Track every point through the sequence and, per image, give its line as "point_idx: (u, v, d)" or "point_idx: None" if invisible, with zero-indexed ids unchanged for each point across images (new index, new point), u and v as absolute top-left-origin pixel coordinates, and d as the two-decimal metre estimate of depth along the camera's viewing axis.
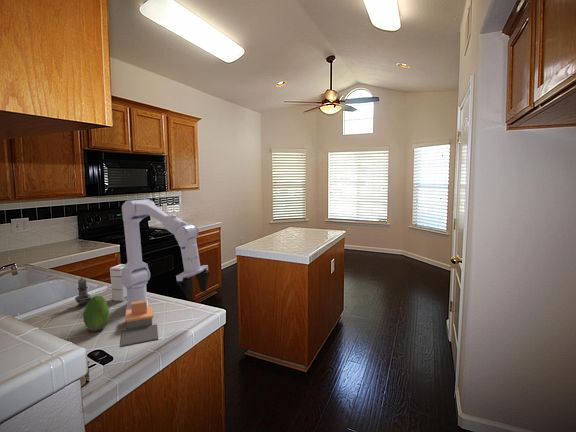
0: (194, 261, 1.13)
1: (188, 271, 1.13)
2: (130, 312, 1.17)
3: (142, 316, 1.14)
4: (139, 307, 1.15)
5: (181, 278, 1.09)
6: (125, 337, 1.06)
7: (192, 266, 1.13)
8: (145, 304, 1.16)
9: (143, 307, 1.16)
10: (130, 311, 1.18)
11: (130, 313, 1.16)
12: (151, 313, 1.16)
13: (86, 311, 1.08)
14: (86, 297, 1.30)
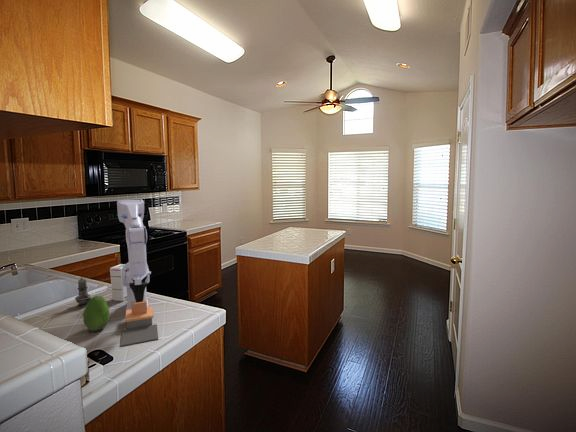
0: (145, 264, 1.14)
1: (140, 274, 1.12)
2: (130, 312, 1.17)
3: (142, 316, 1.14)
4: (139, 307, 1.15)
5: (141, 281, 1.09)
6: (125, 337, 1.06)
7: (144, 269, 1.13)
8: (145, 304, 1.16)
9: (143, 307, 1.16)
10: (130, 311, 1.18)
11: (130, 313, 1.16)
12: (151, 313, 1.16)
13: (86, 311, 1.08)
14: (86, 297, 1.30)
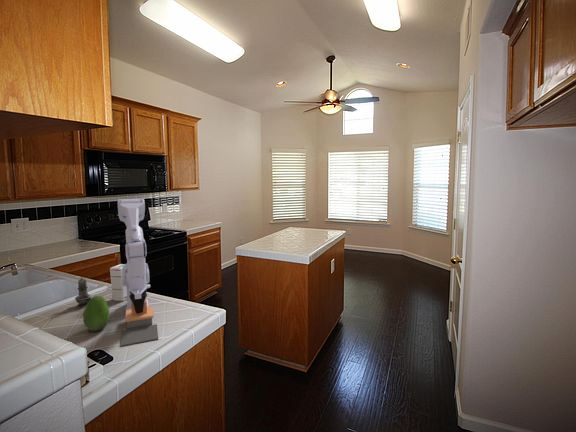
0: (145, 277, 1.15)
1: (139, 288, 1.13)
2: (130, 312, 1.17)
3: (142, 316, 1.14)
4: None
5: (141, 295, 1.10)
6: (125, 337, 1.06)
7: (144, 282, 1.14)
8: (145, 304, 1.16)
9: (143, 307, 1.16)
10: (130, 311, 1.18)
11: (130, 313, 1.16)
12: (151, 313, 1.16)
13: (86, 311, 1.08)
14: (86, 297, 1.30)
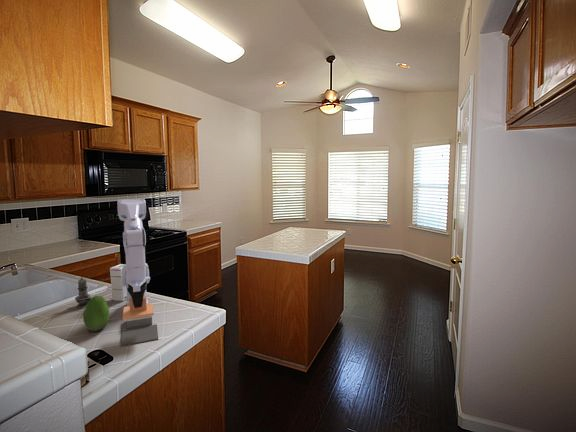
0: (144, 269, 1.05)
1: (138, 280, 1.03)
2: (128, 309, 1.07)
3: (141, 313, 1.04)
4: None
5: (140, 288, 1.00)
6: (125, 337, 1.06)
7: (143, 274, 1.04)
8: (144, 300, 1.06)
9: (142, 303, 1.06)
10: (128, 308, 1.08)
11: (128, 310, 1.06)
12: (151, 310, 1.06)
13: (86, 311, 1.08)
14: (86, 297, 1.30)
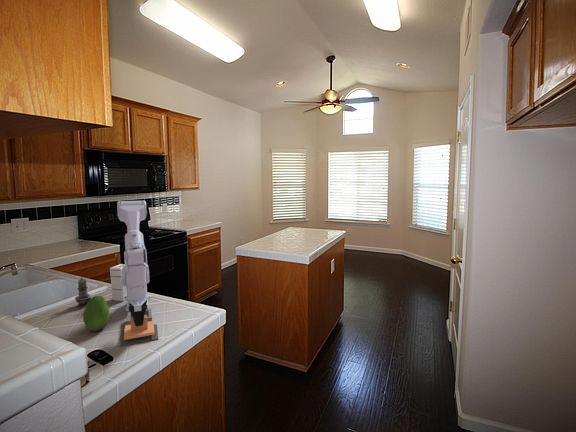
0: (145, 287, 1.06)
1: (139, 299, 1.04)
2: (129, 328, 1.08)
3: (142, 333, 1.05)
4: None
5: (141, 307, 1.01)
6: None
7: (144, 293, 1.05)
8: (146, 319, 1.07)
9: (143, 323, 1.07)
10: (129, 327, 1.09)
11: (129, 329, 1.07)
12: (152, 329, 1.07)
13: (86, 311, 1.08)
14: (86, 297, 1.30)
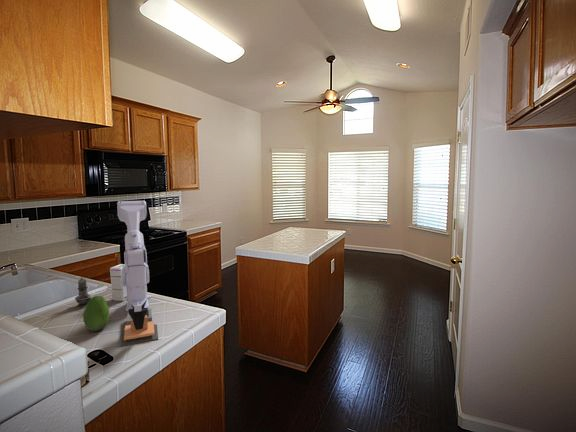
0: (145, 288, 1.06)
1: (139, 299, 1.04)
2: (129, 328, 1.08)
3: (142, 333, 1.05)
4: None
5: (141, 308, 1.01)
6: None
7: (144, 293, 1.05)
8: (146, 320, 1.07)
9: None
10: (129, 327, 1.09)
11: (129, 329, 1.07)
12: (152, 329, 1.07)
13: (86, 311, 1.08)
14: (86, 297, 1.30)
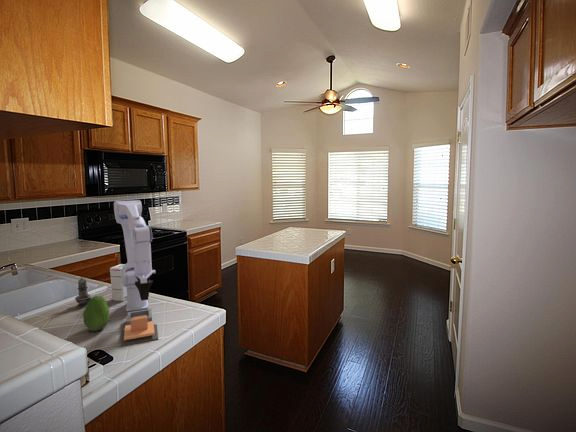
0: (150, 263, 1.16)
1: (145, 273, 1.14)
2: (129, 328, 1.08)
3: (142, 333, 1.05)
4: (139, 323, 1.07)
5: (146, 280, 1.11)
6: None
7: (149, 267, 1.15)
8: (146, 320, 1.07)
9: (143, 323, 1.07)
10: (129, 327, 1.09)
11: (129, 329, 1.07)
12: (152, 329, 1.07)
13: (86, 311, 1.08)
14: (86, 297, 1.30)
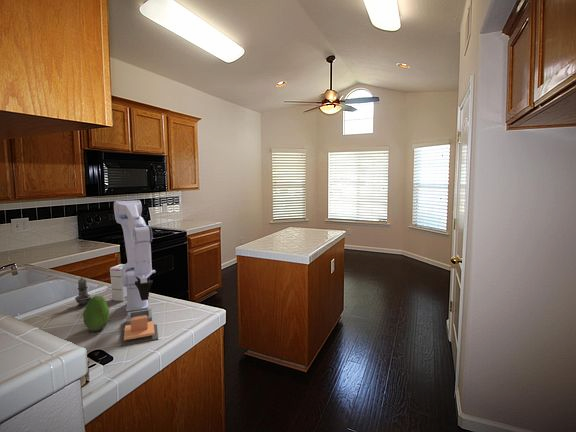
0: (150, 262, 1.16)
1: (145, 273, 1.14)
2: (129, 328, 1.08)
3: (142, 333, 1.05)
4: (139, 323, 1.07)
5: (146, 280, 1.11)
6: None
7: (149, 267, 1.15)
8: (146, 320, 1.07)
9: (143, 323, 1.07)
10: (129, 327, 1.09)
11: (129, 329, 1.07)
12: (152, 329, 1.07)
13: (86, 311, 1.08)
14: (86, 297, 1.30)
